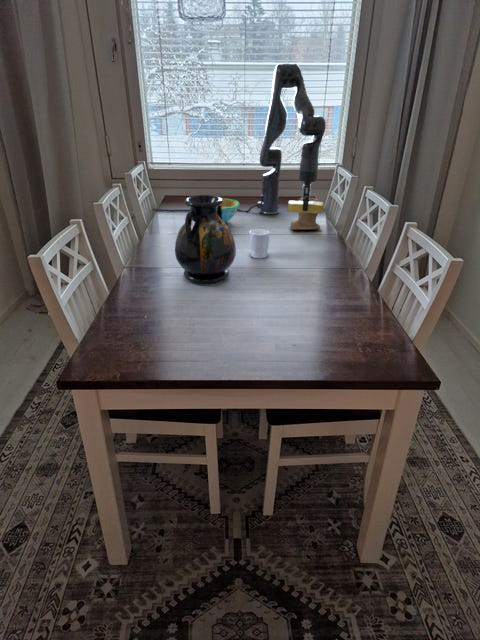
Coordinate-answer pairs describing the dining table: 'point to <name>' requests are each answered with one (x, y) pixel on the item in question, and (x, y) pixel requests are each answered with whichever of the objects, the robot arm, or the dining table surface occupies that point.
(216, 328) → the dining table surface
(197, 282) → the amphora vase
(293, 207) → the packet
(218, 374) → the dining table surface
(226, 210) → the bowl
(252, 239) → the white cup
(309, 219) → the stone cup
